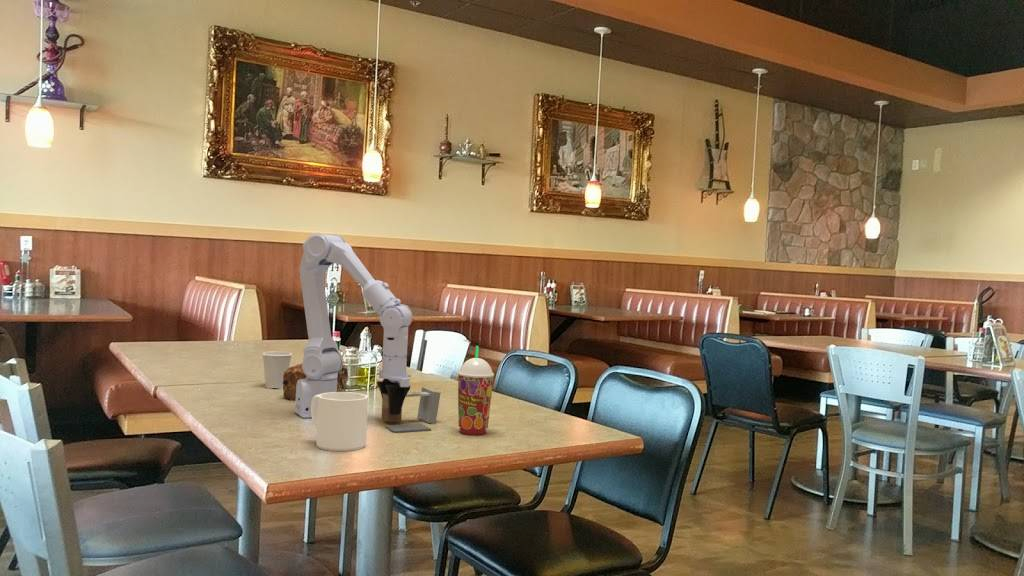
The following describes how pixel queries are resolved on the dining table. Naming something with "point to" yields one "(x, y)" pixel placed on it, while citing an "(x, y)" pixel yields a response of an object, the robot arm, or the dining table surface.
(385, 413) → the brown white angled block
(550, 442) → the dining table surface
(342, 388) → the bread
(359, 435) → the mug
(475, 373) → the smoothie
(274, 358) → the dixie cup
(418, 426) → the mat
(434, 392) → the tile
